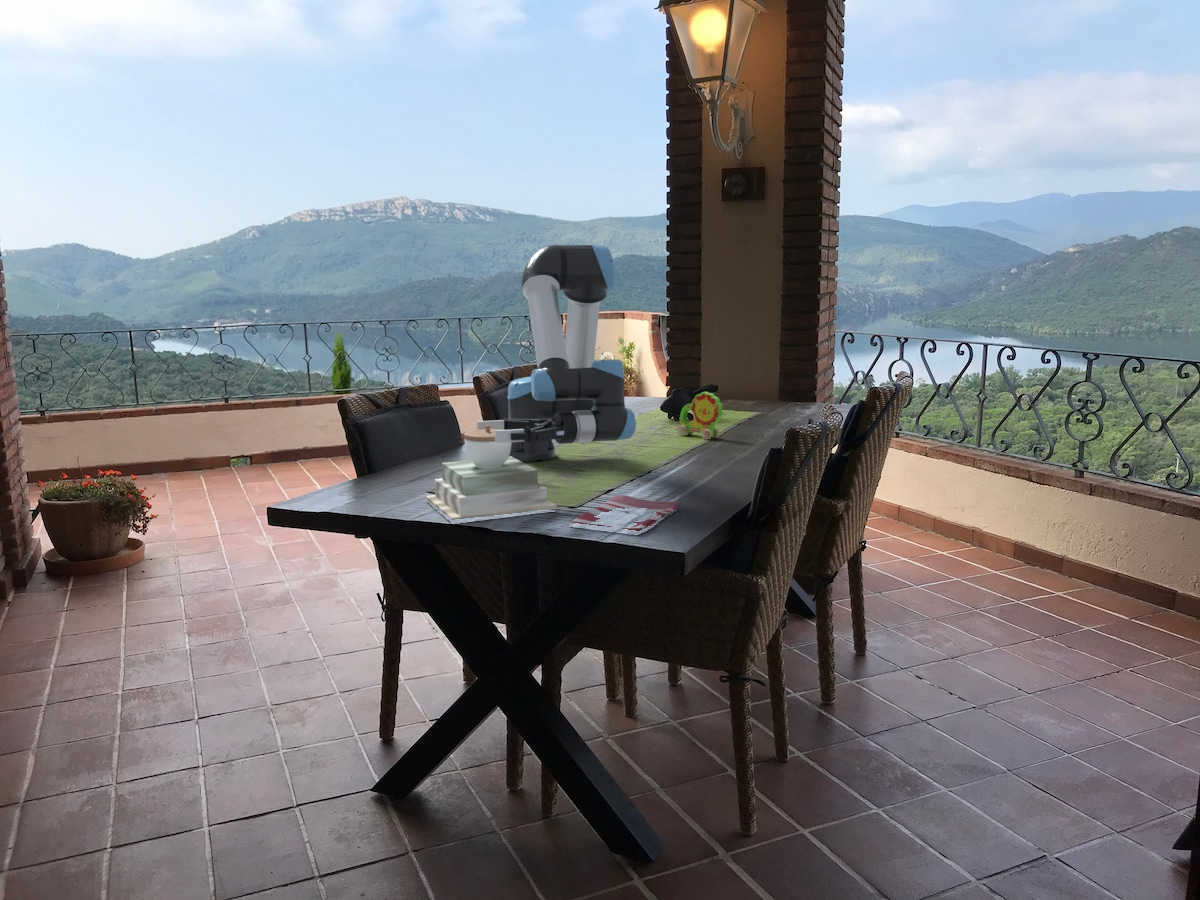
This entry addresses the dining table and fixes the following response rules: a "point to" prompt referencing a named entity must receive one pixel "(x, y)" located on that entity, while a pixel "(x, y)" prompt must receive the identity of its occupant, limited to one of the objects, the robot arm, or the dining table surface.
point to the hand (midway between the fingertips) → (485, 431)
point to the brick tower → (488, 490)
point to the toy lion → (702, 416)
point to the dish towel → (628, 502)
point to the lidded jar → (486, 448)
